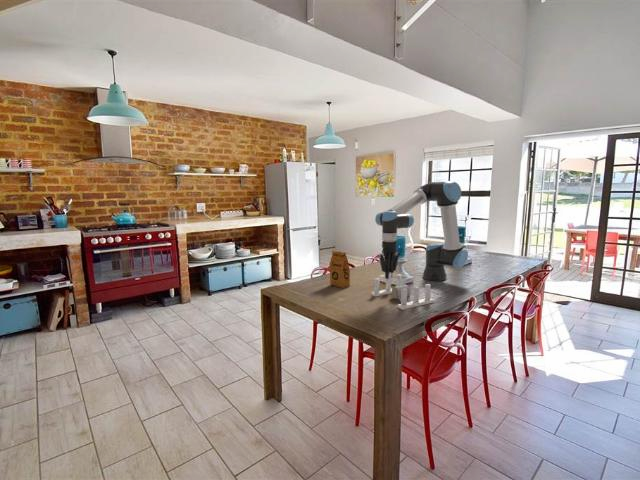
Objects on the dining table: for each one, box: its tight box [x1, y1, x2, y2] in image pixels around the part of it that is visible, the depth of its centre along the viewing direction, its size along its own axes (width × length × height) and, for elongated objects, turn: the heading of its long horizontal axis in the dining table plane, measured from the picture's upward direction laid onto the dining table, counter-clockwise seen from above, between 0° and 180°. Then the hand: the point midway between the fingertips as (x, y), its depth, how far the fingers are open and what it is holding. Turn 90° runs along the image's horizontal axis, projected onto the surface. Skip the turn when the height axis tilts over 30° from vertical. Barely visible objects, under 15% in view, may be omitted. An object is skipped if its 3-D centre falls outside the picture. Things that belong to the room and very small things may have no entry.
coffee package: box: [329, 250, 351, 289], centre depth 205 cm, size 10×12×22 cm
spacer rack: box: [371, 274, 435, 310], centre depth 179 cm, size 21×27×10 cm
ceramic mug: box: [391, 283, 411, 302], centre depth 178 cm, size 11×8×8 cm
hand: (388, 284), depth 175 cm, fingers closed
